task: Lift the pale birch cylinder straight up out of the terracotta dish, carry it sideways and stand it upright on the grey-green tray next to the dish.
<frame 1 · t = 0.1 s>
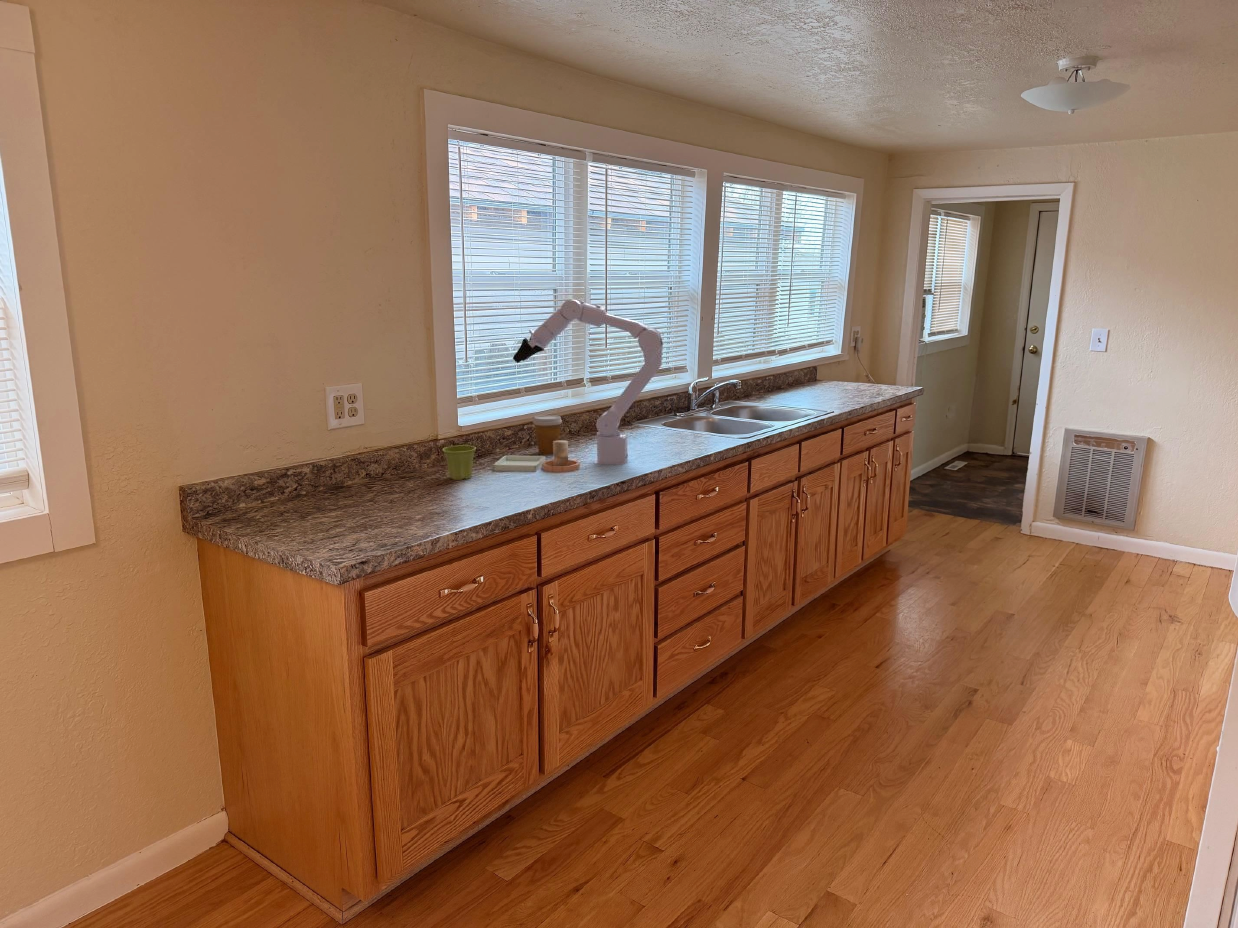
hand: (518, 359, 262), 32 cm above the counter, tool tilted 50°, fingers open, 7 cm apart
disposable coffee cup: (548, 453, 281), on the counter
plant pot: (460, 478, 247), on the counter
terracotta dish: (561, 469, 256), on the counter
grey green tray: (520, 467, 259), on the counter
birch cylinder: (561, 467, 256), resting on terracotta dish
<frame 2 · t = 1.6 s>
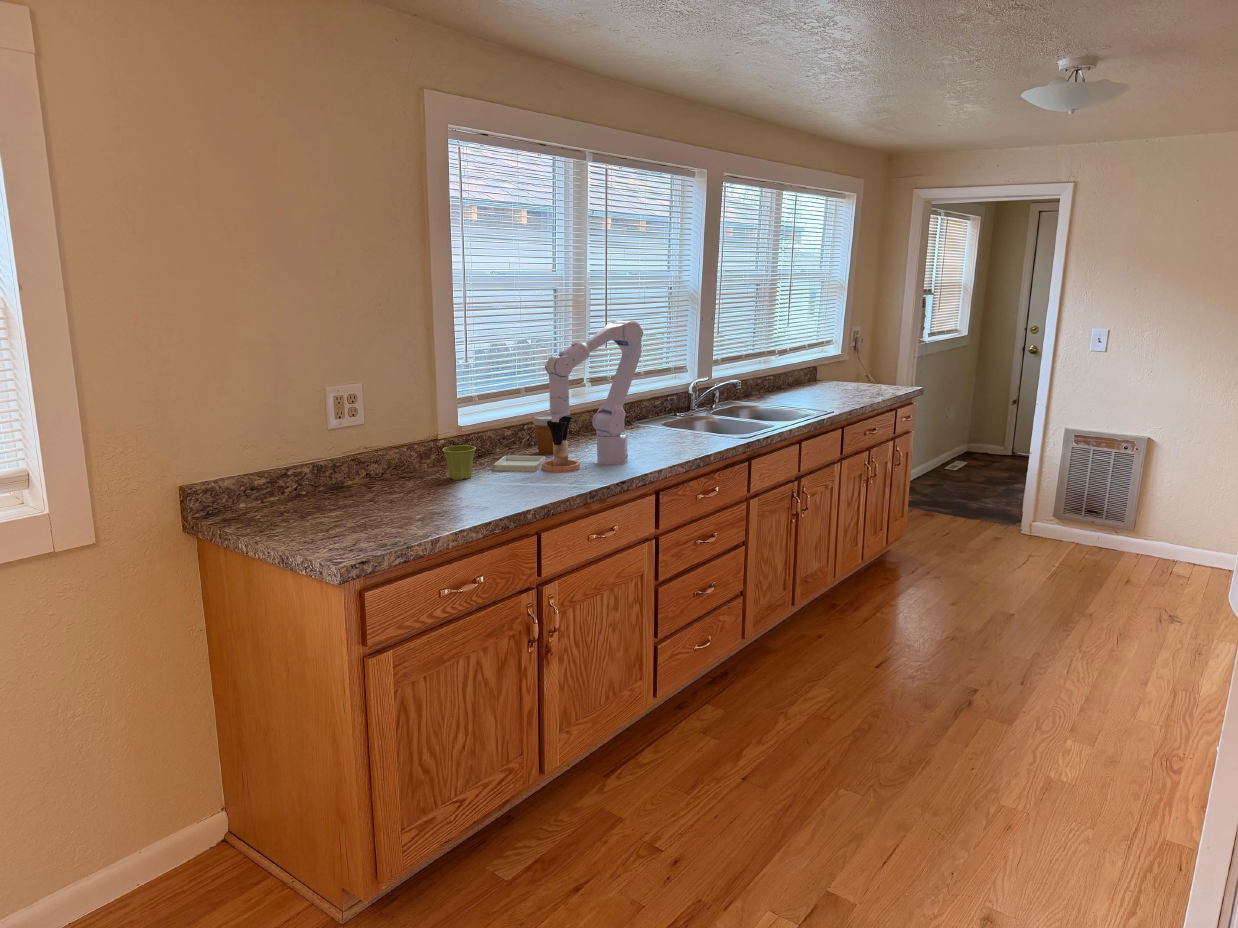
hand: (560, 442, 254), 8 cm above the counter, tool pointing down, fingers open, 7 cm apart
nothing on the counter moved.
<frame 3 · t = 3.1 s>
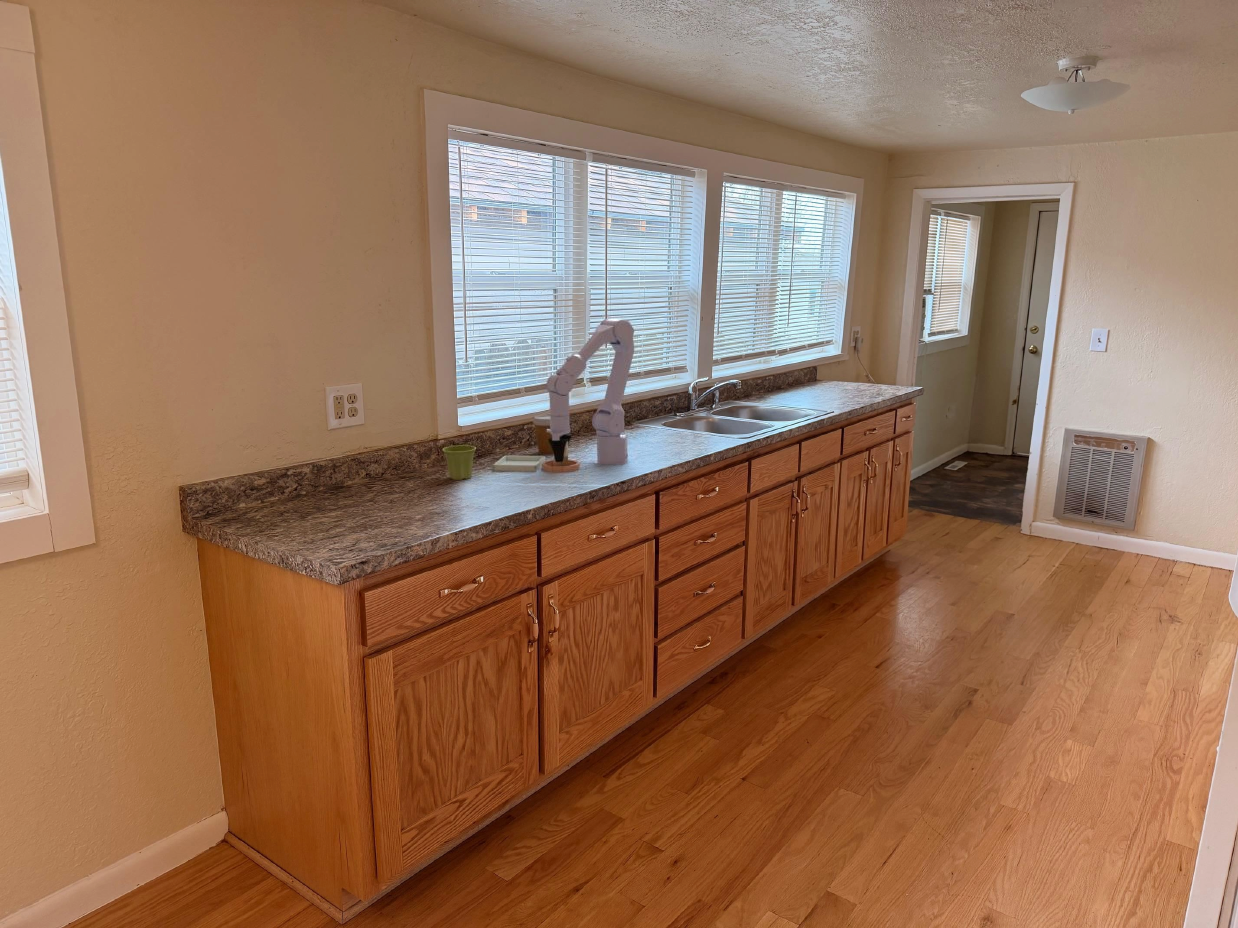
hand: (560, 460, 255), 3 cm above the counter, tool pointing down, fingers closed on birch cylinder, 4 cm apart
birch cylinder: (561, 467, 256), resting on terracotta dish, touching gripper
everything else where it was.
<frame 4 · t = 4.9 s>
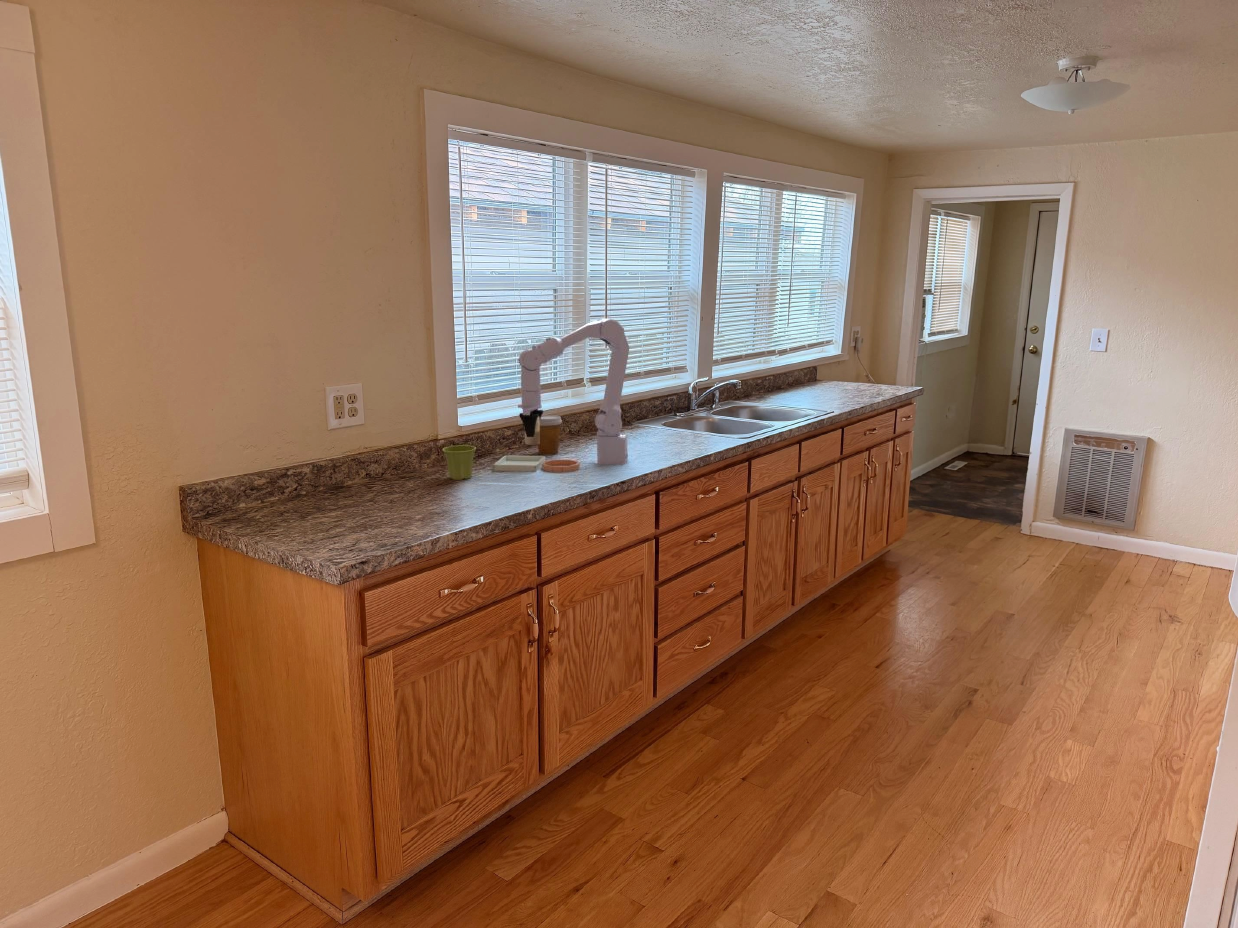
hand: (532, 435, 256), 10 cm above the counter, tool pointing down, fingers closed on birch cylinder, 4 cm apart
birch cylinder: (532, 443, 257), point 8 cm above the counter, touching gripper
everything else where it was.
when the fingers open (5 cm above the counter, at t = 6.9 s): birch cylinder drops 2 cm, resting on grey green tray.
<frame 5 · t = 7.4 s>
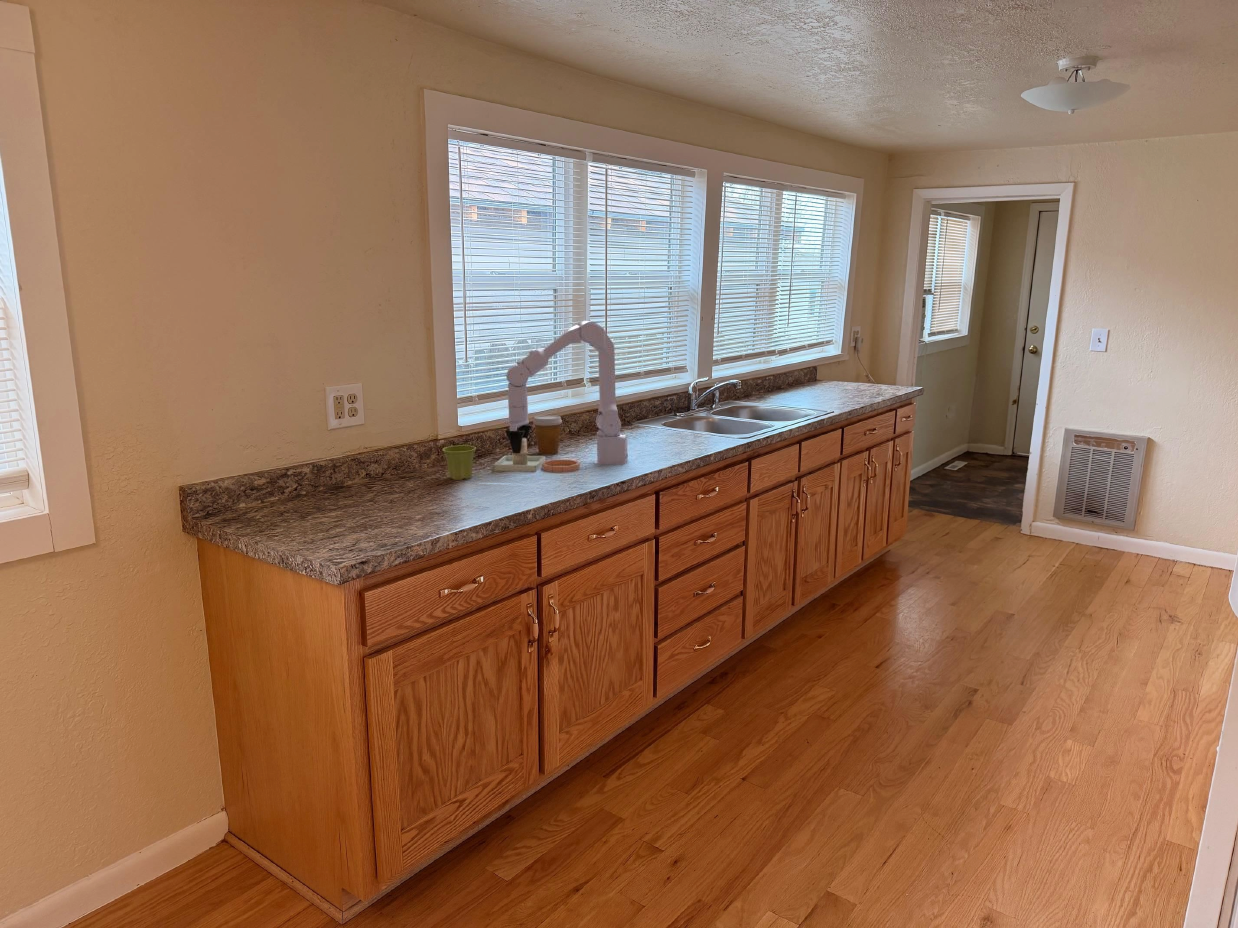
hand: (519, 450, 258), 5 cm above the counter, tool pointing down, fingers open, 7 cm apart
birch cylinder: (520, 464, 259), point 1 cm above the counter, touching grey green tray
everything else where it was.
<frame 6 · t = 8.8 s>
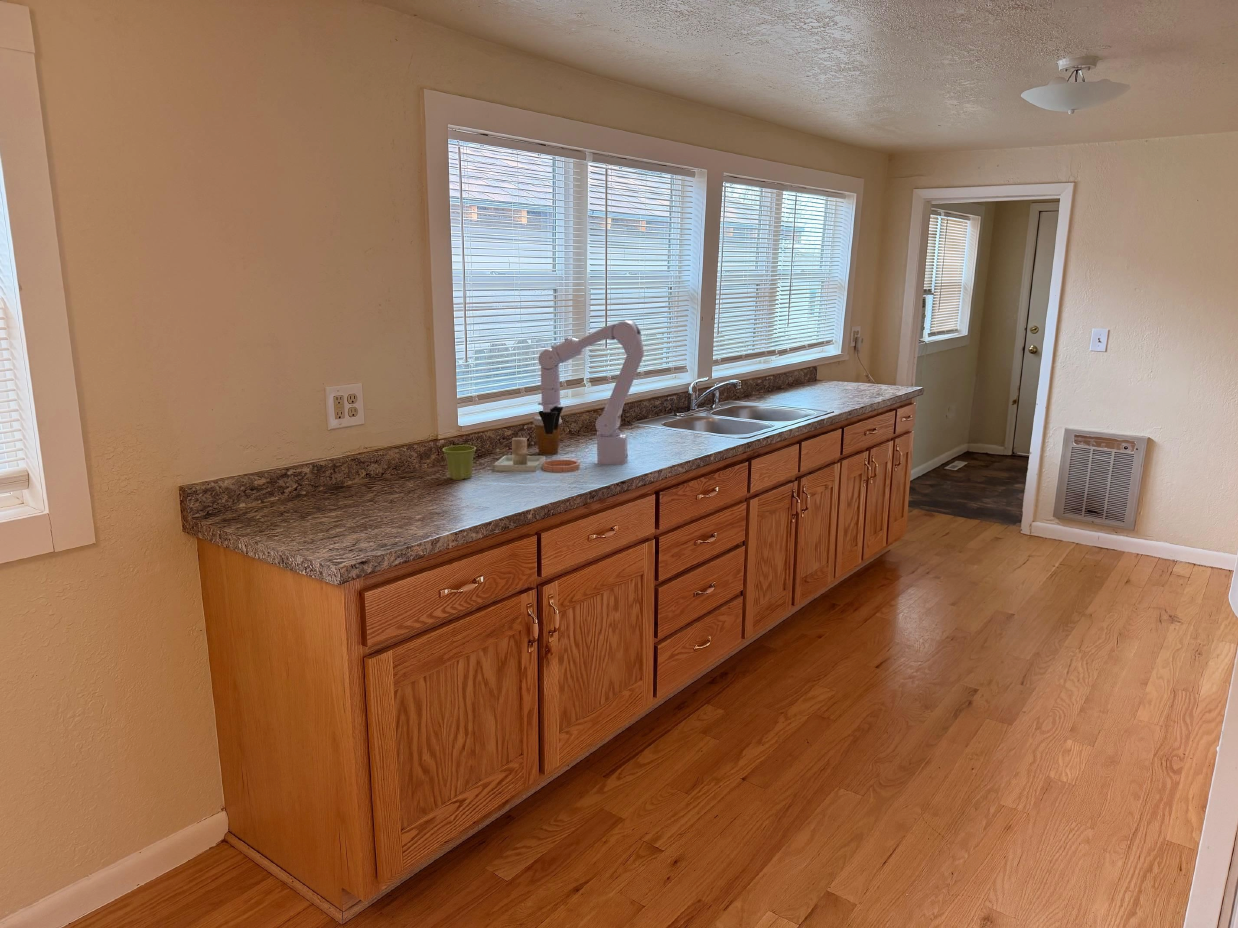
hand: (551, 431, 266), 9 cm above the counter, tool pointing down, fingers open, 7 cm apart
nothing on the counter moved.
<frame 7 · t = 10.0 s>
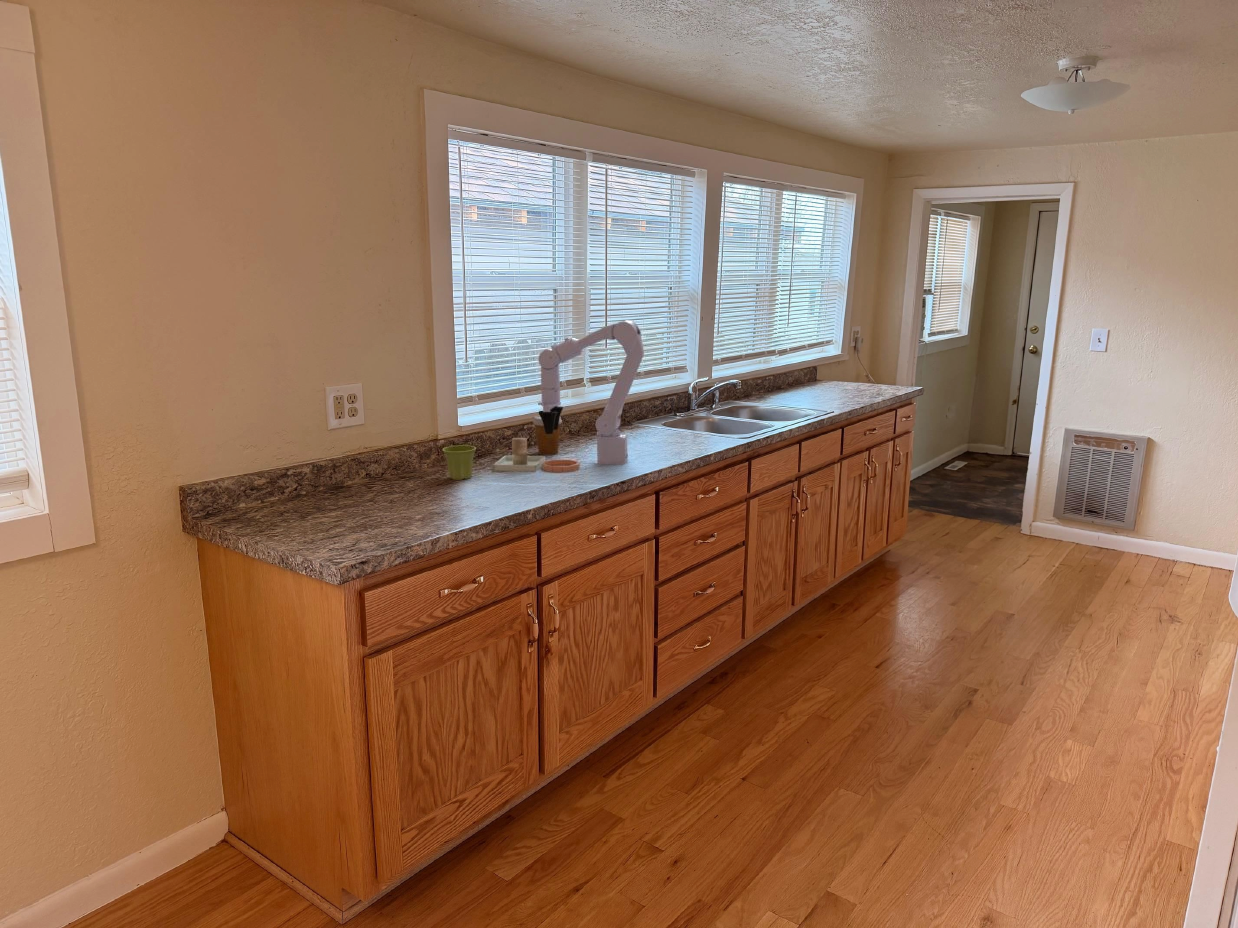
hand: (551, 431, 266), 9 cm above the counter, tool pointing down, fingers open, 7 cm apart
nothing on the counter moved.
at the end: birch cylinder inside the target area on the grey green tray (0.0 cm from its centre), point 0.8 cm above the grey green tray's base; birch cylinder tilted 0°; the gripper is holding nothing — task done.
